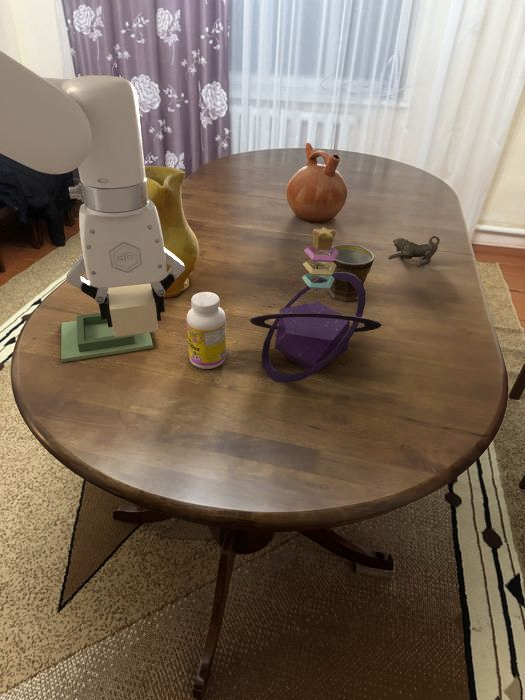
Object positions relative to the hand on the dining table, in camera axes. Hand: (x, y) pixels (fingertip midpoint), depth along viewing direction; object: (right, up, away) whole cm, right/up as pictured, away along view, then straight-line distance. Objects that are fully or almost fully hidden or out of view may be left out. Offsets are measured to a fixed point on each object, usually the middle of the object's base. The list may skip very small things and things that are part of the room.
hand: (134, 318), depth 67 cm
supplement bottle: (+9, -6, +18) cm, 21 cm away
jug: (+34, +37, +77) cm, 92 cm away
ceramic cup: (+36, +8, +39) cm, 53 cm away
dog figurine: (+57, +18, +54) cm, 81 cm away
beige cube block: (0, -1, 0) cm, 1 cm away
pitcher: (-4, +11, +41) cm, 42 cm away
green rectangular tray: (-11, -2, +22) cm, 25 cm away
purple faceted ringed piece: (+27, -6, +20) cm, 34 cm away
